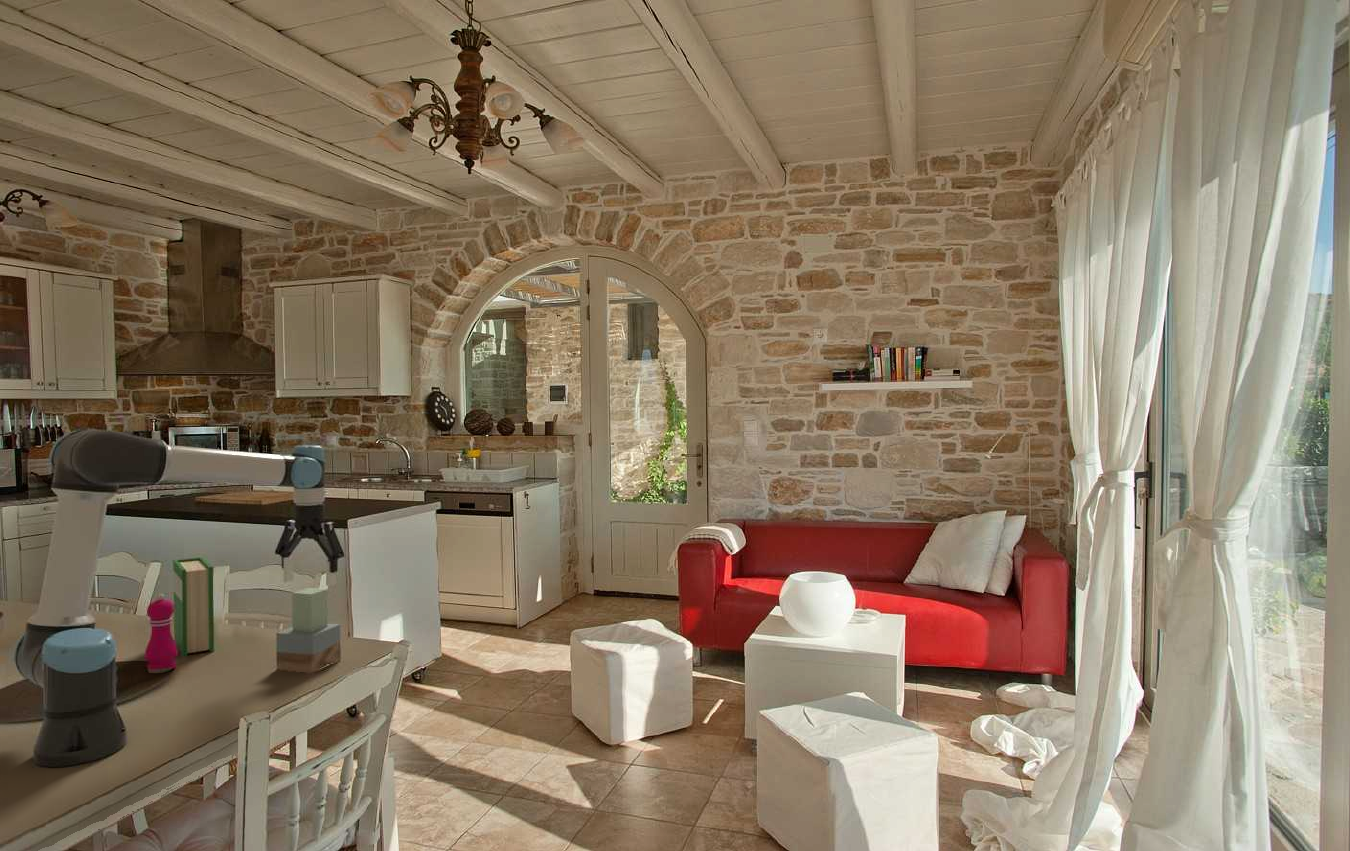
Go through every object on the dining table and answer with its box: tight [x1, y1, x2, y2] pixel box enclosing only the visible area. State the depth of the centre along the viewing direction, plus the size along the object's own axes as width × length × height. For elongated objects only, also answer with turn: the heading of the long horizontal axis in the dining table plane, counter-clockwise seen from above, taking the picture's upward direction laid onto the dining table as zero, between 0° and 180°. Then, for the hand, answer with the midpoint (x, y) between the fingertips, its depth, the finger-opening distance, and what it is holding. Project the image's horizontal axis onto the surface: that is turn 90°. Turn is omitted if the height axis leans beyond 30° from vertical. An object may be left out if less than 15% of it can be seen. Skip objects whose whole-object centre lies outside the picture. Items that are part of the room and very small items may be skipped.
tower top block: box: [275, 622, 341, 655], centre depth 213 cm, size 11×11×5 cm
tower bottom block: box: [276, 642, 342, 674], centre depth 213 cm, size 11×11×5 cm
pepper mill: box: [144, 593, 179, 669], centre depth 208 cm, size 7×7×20 cm
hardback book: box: [172, 556, 215, 658], centre depth 228 cm, size 18×7×24 cm, turn 39°
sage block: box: [291, 587, 329, 632], centre depth 213 cm, size 6×6×10 cm
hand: (309, 583), depth 212 cm, fingers open, 13 cm apart
